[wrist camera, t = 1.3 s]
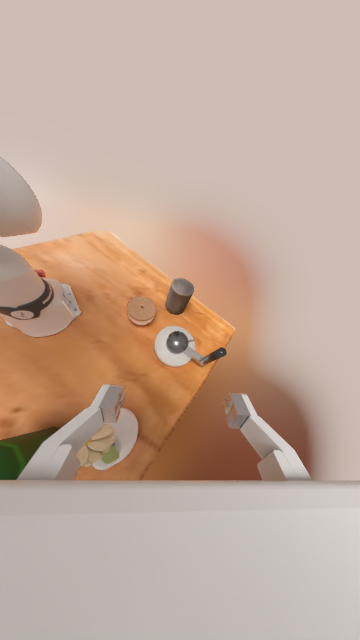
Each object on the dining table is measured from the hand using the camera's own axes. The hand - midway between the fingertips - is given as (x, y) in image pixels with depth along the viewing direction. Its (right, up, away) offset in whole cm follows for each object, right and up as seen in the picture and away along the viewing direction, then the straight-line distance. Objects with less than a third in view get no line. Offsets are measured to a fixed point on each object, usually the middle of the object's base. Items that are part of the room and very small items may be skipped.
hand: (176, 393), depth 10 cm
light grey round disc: (-2, -5, +42) cm, 42 cm away
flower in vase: (-18, -25, +25) cm, 39 cm away
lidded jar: (-16, +7, +44) cm, 47 cm away
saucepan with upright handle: (+3, -6, +38) cm, 39 cm away
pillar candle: (-2, +12, +53) cm, 54 cm away
